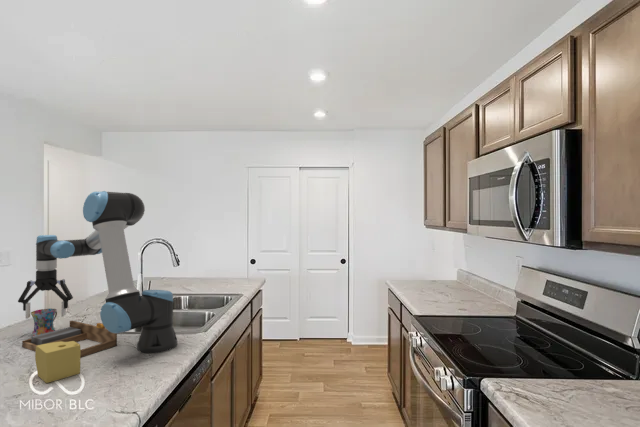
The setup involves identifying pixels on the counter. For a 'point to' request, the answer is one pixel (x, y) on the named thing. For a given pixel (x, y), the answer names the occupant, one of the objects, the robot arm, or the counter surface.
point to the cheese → (57, 360)
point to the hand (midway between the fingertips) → (45, 316)
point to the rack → (76, 337)
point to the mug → (43, 321)
